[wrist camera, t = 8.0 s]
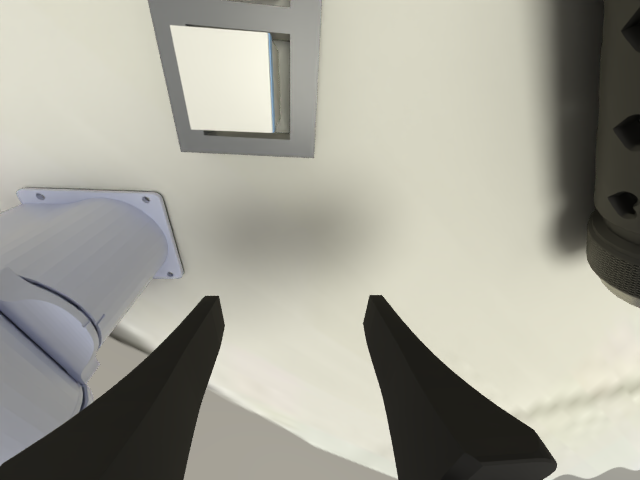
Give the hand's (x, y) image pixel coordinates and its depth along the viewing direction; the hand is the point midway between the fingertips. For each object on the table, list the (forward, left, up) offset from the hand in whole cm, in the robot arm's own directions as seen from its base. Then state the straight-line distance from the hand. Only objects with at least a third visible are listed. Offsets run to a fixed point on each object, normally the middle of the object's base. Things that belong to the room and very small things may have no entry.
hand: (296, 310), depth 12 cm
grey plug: (-3, +9, -10) cm, 14 cm away
